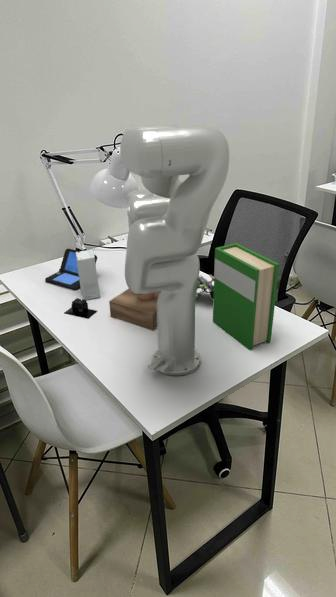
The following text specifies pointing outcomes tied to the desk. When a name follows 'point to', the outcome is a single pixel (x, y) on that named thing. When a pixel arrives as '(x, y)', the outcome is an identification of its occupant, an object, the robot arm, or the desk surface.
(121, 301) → the walnut block
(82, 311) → the build plate
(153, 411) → the desk surface
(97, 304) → the desk surface
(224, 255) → the hardback book
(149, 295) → the beige rounded cylinder
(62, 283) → the game console
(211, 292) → the passion flower
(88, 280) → the skincare box
